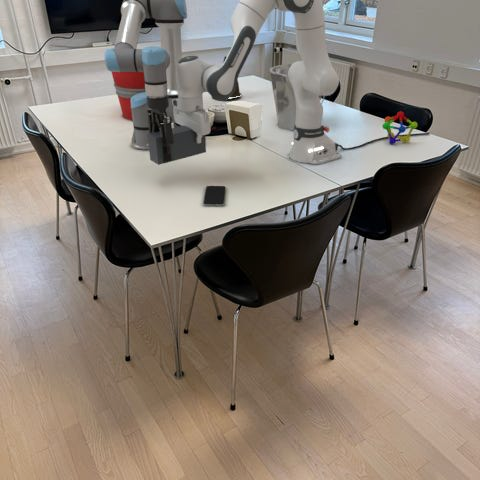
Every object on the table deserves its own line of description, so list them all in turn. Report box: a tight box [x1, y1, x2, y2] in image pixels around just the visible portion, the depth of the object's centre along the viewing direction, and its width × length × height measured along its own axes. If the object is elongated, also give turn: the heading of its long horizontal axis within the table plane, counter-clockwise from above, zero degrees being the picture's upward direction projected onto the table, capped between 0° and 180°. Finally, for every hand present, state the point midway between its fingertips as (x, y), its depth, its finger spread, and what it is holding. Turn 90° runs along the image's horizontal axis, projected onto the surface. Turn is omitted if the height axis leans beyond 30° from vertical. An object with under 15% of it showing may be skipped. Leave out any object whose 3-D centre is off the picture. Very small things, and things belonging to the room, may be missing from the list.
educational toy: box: [382, 110, 418, 145], centre depth 207 cm, size 16×13×15 cm
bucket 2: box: [269, 63, 325, 131], centre depth 226 cm, size 30×30×28 cm
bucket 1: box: [110, 71, 146, 121], centre depth 240 cm, size 35×35×30 cm
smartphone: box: [203, 185, 226, 207], centre depth 161 cm, size 7×1×15 cm
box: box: [148, 125, 207, 166], centre depth 166 cm, size 21×6×10 cm, turn 128°
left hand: (163, 158), depth 165 cm, fingers closed on box, 6 cm apart
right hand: (192, 140), depth 170 cm, fingers closed on box, 6 cm apart
